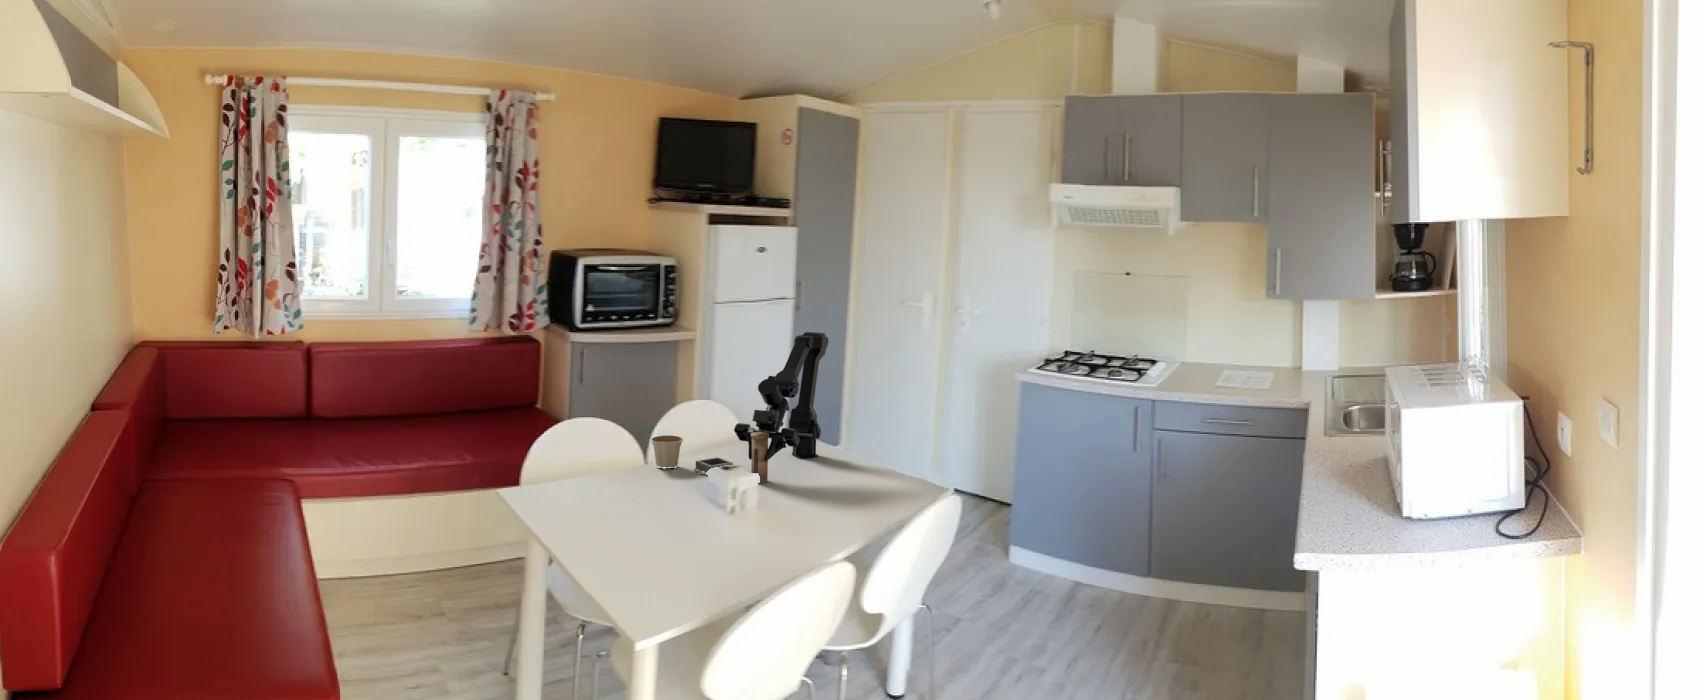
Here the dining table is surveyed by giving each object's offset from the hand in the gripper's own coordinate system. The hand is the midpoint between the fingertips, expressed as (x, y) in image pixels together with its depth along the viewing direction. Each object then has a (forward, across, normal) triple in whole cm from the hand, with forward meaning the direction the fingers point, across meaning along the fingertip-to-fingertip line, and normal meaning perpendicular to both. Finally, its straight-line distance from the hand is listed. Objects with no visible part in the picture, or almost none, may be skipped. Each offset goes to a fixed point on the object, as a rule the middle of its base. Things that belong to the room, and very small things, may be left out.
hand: (757, 459), depth 290 cm
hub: (+1, -17, +9) cm, 19 cm away
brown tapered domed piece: (+4, 0, +6) cm, 7 cm away
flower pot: (+2, -31, +7) cm, 32 cm away
